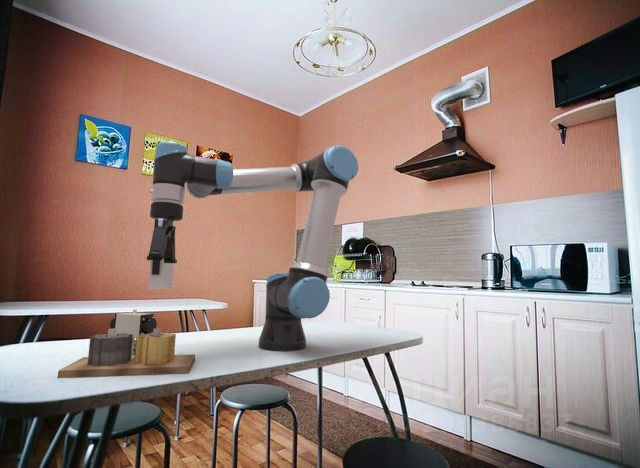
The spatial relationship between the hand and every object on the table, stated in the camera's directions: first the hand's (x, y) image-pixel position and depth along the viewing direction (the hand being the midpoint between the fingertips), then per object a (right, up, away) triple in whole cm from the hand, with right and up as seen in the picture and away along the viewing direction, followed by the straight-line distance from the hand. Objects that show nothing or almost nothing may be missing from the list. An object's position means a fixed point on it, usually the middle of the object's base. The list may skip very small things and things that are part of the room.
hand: (161, 289), depth 87 cm
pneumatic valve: (-14, -20, +13) cm, 28 cm away
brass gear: (-1, -17, -2) cm, 17 cm away
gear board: (-5, -18, -3) cm, 19 cm away
